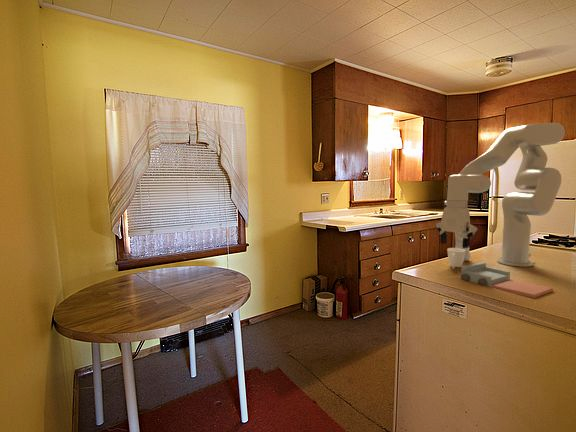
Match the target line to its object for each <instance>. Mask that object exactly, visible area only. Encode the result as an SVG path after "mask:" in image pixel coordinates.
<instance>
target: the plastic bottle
mask: <svg viewBox="0 0 576 432" xmlns="http://www.w3.org/2000/svg"><path fill="white" fill-rule="evenodd" d="M470 232H471V229H469V233H470ZM454 236H455V237H454V238H455V246H454V248H460V249H464V250H465V251H466V252H465V257H464V261H463V263H465V262H469V261H470V260H471V252H470V246H469V247H468V248H463V247H462V246H463V238H465V237H464V236H463V234H462V233H455V232H454Z"/></svg>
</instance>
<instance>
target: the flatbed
mask: <svg viewBox="0 0 576 432" xmlns="http://www.w3.org/2000/svg"><path fill="white" fill-rule="evenodd" d="M486 265H487V263H486V262H483V261H481V262H477V263H472V264H468V265H462V266H461V267H460V268H461V269H460V271H461V273H460V279H461V280H463V281H466V282H471V283H475V284H478V285H480V286H483V287H490V288H494V287H493V285H495V284H499V283H502V282H505V281H509V280H511V271H509V270H504V269H499V268H495V267H492V266H491V267H490V266H488V265H487V266H486Z"/></svg>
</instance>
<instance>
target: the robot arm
mask: <svg viewBox="0 0 576 432" xmlns="http://www.w3.org/2000/svg"><path fill="white" fill-rule="evenodd" d="M565 129H566V128H565V127H564V126H563V125H562V124H561V123H558V122H546V123H545V122H544V123H543V122H542V123H529V124H523V125H518V126H514V127H509V128H507V129H505V130H503V132H502V133H501V134H500V135H499V136H498V137H497V138H496V139H495V141H493V143H492V144H491V145H490V147H489V148H488V149H487V150H486V152H484V153H483V154H481V155H480V156H478V157H477V158H476V159H474V160H472V161H470V162H469V163H468V164H466V165H465V166H464V167H463V169H462V170H461V171H460V172H459V173H458V174H452V175H449V176H448V178H447V179H448V181H447V192H446V193H447V195H446V200H445V201H444V205H446V206H445V207H444V208H443V212H442V216H441V221H439V222H437V223H435V226H436V228H437V229H436V230H437V231H438V232H439V235H440V244H441V245H445V244H447V242H448V234H447V233H448V232H450V233H454V234H455V233H462V234H463V236H464V237H465V238H463V246H462V247H463V248H468V247H469V248H470V244H471V243H470V241H471V239H472V237H473V236H475V234H476V232H477V231H478V228H477V227H476V226H475V225H473V224H471V217H470V216H471V214H470V210H469V208H468V203H469V202H468V201H469V193H472V194H474V193H475V194H481V193H485V192H487V191H488V190H489V189H490V188H491V186H492V185H491V184H492V181H491V178H489V177H488V175H485V174H484V173H486V172H489V171H492V170H495V169H497V168H499V167H501V166H503V165H505V164H506V163H507V162H508V161H509V160H510V158H511V157H512V155H513V154H514V153H515V152H516V151H517V150H518V149H519V148H520V150H521V155H522V160H521V162H520V165H519V167H518V171H517V173H516V175H515V179H514V186H515V188H516V189H518V190H520V191H513V192H509V193H507V194H505V195H504V196H503V198H502V201H501V208H502V214H503V230H502V243H501V244H502V245H501V246H502V247H501V249H502V250H501V257H498V258H497V259H496V261H497V263H499V264H502V265H506V266H511V267H523V268H524V267H525V268H526V267H529V268H530V267H532V266H534V263H533V261H531V260H529V259H530V258H531V257H532V253H531V252H530V243H531V231H532V230H531V228H532V225H531V223H532V222H531V219H530V218H529V216H533V217H534V216H536V217H538V216H539V217H541V216H545V215H547V214H548V213H549V212H550V211H551V209H552V207H553V205H554V203H555V200H556V198H557V195H558V193H559V190H560V187H561V184H562V175H561V174H562V173H561V172H560V171H559V170H558V169H557V168H554V167H546V166H547V162H548V155H547V153H546V152H545V150H544V149H543V148H542V146H548V145H549V146H550V145H556V144H558V143H560V142H561V141H562V140H563V139H564V138H565V135H566V130H565ZM529 191H530V192H529ZM532 191H533V192H532ZM469 229H471V232H470V233H469Z"/></svg>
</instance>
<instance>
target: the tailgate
mask: <svg viewBox="0 0 576 432" xmlns="http://www.w3.org/2000/svg"><path fill="white" fill-rule="evenodd" d="M492 288H495V289H498V290H499V289H500V290H501V291H507V292H510V293H513V294H517V295H519V296H525V297H528V298H533V299H534V298H538V297H541V296H544V295H546V294H548V293H551V292H553V291H554V288H553V287H551V286H547V285H546V286H545V285H540V284H535V283H531V282H526V281H525V282H524V281H519V280H515V279H510V280H509V281H505V282H502V283H499V284H495V285H493V287H492Z"/></svg>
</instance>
